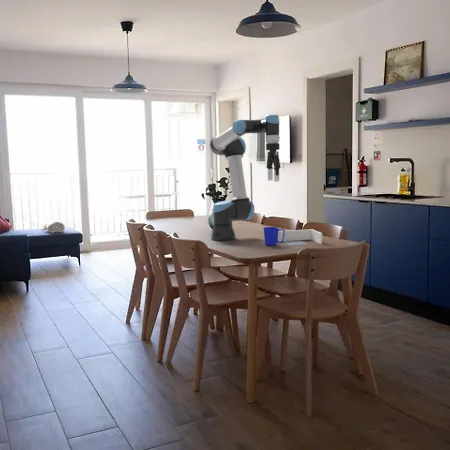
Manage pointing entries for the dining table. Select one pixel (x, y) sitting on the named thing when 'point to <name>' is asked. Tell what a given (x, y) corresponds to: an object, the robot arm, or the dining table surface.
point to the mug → (272, 235)
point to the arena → (300, 235)
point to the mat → (295, 243)
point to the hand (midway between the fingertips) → (273, 180)
